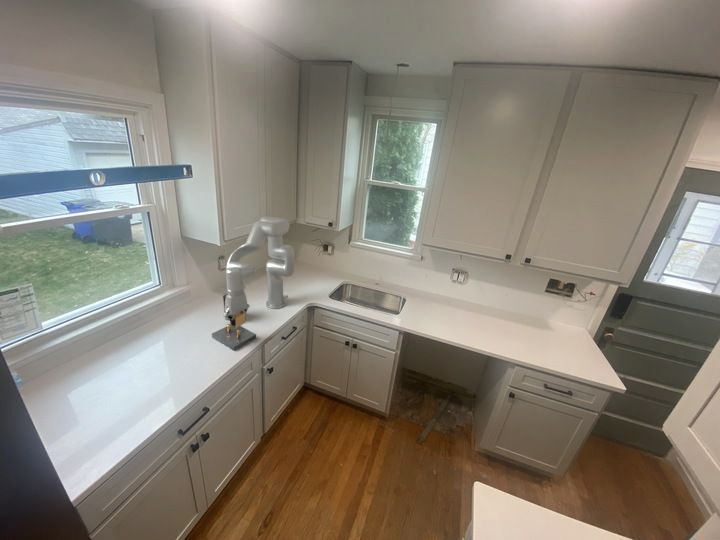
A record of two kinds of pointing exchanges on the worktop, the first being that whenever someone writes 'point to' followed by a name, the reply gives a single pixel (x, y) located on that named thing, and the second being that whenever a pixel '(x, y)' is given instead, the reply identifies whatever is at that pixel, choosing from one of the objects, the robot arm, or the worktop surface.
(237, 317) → the tan cardboard cube
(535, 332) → the worktop surface
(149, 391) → the worktop surface
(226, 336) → the plate
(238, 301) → the robot arm
